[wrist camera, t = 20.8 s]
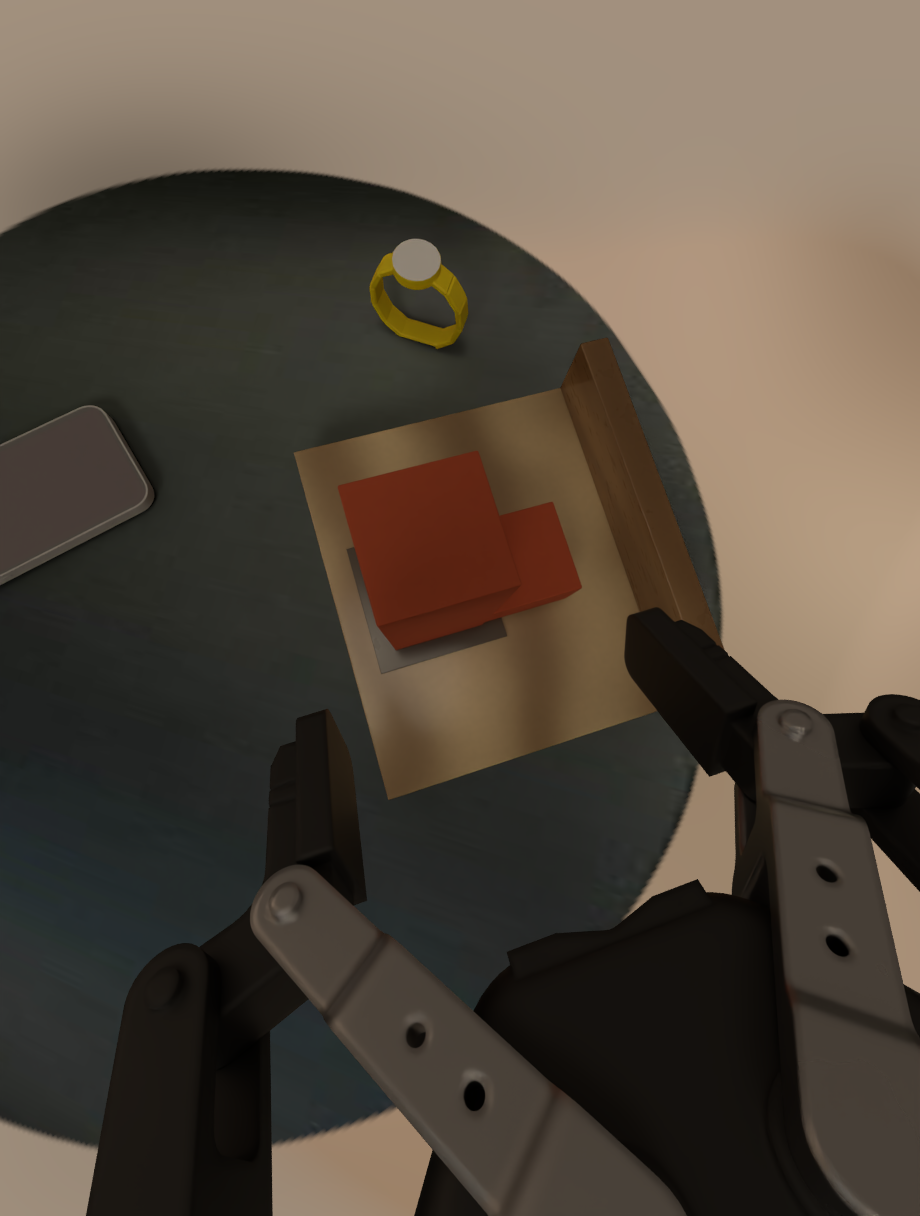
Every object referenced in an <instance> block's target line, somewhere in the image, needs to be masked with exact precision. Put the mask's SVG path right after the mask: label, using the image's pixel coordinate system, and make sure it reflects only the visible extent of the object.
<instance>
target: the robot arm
mask: <svg viewBox="0 0 920 1216" xmlns="http://www.w3.org/2000/svg"><path fill="white" fill-rule="evenodd" d="M624 660H625V665H626V668H627V671H628V673H629V675H630V676H631V678H632V679H633V681H634V682H635V683H636V684H637V686H638V687H639V688H640V689H641V691H642V692H643V693H644V695H645V696H646V697H647V698H648V700H649V701H650V702H651V703H652V705H653V706H654V707H655V708H656V710H657V711H658V712H659V713H660V715H661V716H662V717H663V719H664V720H665V721H666V722H667V724H668V725H669V726H670V727H671V729H672V730H673V731H674V732H675V734H676V735H677V736H678V737H679V739H680V740H681V741H682V743H683V744H684V745H685V746H686V748H687V749H688V750H689V751H690V753H691V754H692V755H693V756H694V758H695V759H696V760H697V761H698V763H699V764H700V765H701V767H702V768H703V769H704V770H705V772H706V773H707V774H708V775H709V776H713V775H716V774H718V773H721V772H724V771H726V772H727V773H728V774H729V775H730V776H731V778H732V779H733V780H734V781H735V786H734V797H735V844H736V845H735V846H736V860H735V870H734V876H733V883H732V895H729V894H724V893H713V892H707V893H706V892H705V890H704V888H703V887H702V885H701V884H700V882H699V880H698V879H697V880H694V881H692V882H689V883H686V884H684V885H681V886H678V887H676V888H673V889H671V890H668V891H665V892H663V893H660V894H658V895H655V896H652V897H651V898H650V899H649V900H648V901H647V902H645V903H644V904H643V905H641V906H640V907H639V908H638V909H637V910H635V911H634V912H633V913H632V914H630V915H629V916H628V917H627V918H626V919H624V920H623V921H622V922H621V923H619V924H618V925H617V926H616V927H614V928H613V929H610V930H602V931H587V932H571V933H555V934H553V935H550V936H547V937H545V938H542V939H540V940H537V941H534V942H532V943H529V944H526V945H524V946H521V947H519V948H516V949H513V950H511V951H508V952H507V955H508V958H509V962H510V966H509V967H507V968H506V969H505V970H504V971H502V972H501V973H500V974H499V975H498V976H497V977H496V978H495V979H494V980H493V981H492V983H491V984H490V985H489V986H488V988H487V989H486V991H485V992H484V993H483V995H482V996H481V998H480V1000H479V1002H478V1004H477V1005H476V1007H475V1009H474V1011H473V1010H471V1009H470V1008H469V1007H468V1006H467V1005H466V1004H465V1003H464V1002H463V1001H462V1000H461V999H459V998H458V997H457V996H456V995H455V994H454V993H453V992H452V991H451V990H450V989H449V988H447V987H446V986H445V985H444V984H443V983H442V982H441V981H440V980H439V979H438V978H437V977H436V976H434V975H433V974H432V973H431V972H430V971H429V970H428V969H427V968H426V967H425V966H424V965H422V964H421V963H420V962H419V961H418V960H417V959H416V958H415V957H414V956H413V955H412V954H410V953H409V952H408V951H407V950H406V949H405V948H404V947H403V946H402V945H401V944H400V943H398V942H397V941H396V940H395V939H394V938H392V937H391V936H390V935H388V934H384V933H383V932H381V931H380V930H379V929H378V928H377V927H376V926H375V925H373V924H372V923H371V922H370V921H369V920H368V919H367V918H366V917H365V916H364V915H363V914H362V913H361V912H359V911H358V910H357V909H356V908H355V907H354V905H356V904H359V903H361V902H364V901H367V896H366V887H365V878H364V868H363V859H362V850H361V840H360V831H359V822H358V813H357V803H356V794H355V785H354V775H353V767H352V762H351V758H350V754H349V751H348V748H347V746H346V744H345V742H344V740H343V738H342V736H341V733H340V731H339V729H338V727H337V725H336V723H335V721H334V719H333V717H332V715H331V713H330V711H329V710H328V709H325V710H322V711H319V712H316V713H312V714H309V715H306V716H303V717H299V718H297V720H296V741H295V742H292V743H289V744H286V745H283V746H280V748H279V750H278V753H277V755H276V757H275V759H274V761H273V763H272V765H271V773H270V789H271V791H270V792H269V806H270V808H269V811H268V830H267V849H266V868H265V877H264V881H263V884H262V886H261V888H260V889H259V891H258V893H257V894H256V896H255V899H254V901H253V903H252V905H251V906H250V907H249V908H248V910H247V911H246V912H245V913H244V914H243V915H242V916H241V917H240V918H239V919H238V920H236V921H235V922H234V923H233V924H231V925H230V926H228V927H227V928H226V929H224V930H223V931H221V932H220V933H219V934H217V935H216V936H214V937H213V938H212V939H210V940H209V941H207V942H206V943H204V944H203V945H202V946H200V947H198V946H196V945H193V944H190V943H182V944H177V945H174V946H171V947H169V948H167V949H165V950H164V951H162V952H161V953H159V954H158V955H157V956H155V957H154V958H153V959H152V960H151V961H150V962H149V963H148V964H147V965H146V966H145V967H144V968H143V970H142V971H141V972H140V973H139V975H138V976H137V978H136V979H135V981H134V983H133V984H132V986H131V988H130V990H129V993H128V995H127V998H126V1001H125V1005H124V1010H123V1015H122V1021H121V1026H120V1032H119V1037H118V1043H117V1048H116V1054H115V1059H114V1065H113V1070H112V1076H111V1081H110V1087H109V1092H108V1098H107V1103H106V1109H105V1114H104V1120H103V1125H102V1131H101V1136H100V1142H99V1147H98V1153H97V1159H96V1164H95V1169H94V1175H93V1180H92V1186H91V1191H90V1197H89V1202H88V1208H87V1213H86V1216H272V1151H271V1150H272V1146H271V1073H270V1030H271V1029H272V1028H274V1027H275V1026H276V1025H277V1024H278V1023H280V1022H281V1021H282V1020H283V1019H285V1018H286V1017H287V1016H288V1015H289V1014H291V1013H292V1012H293V1011H294V1010H296V1009H297V1008H298V1007H299V1006H301V1005H302V1004H303V1003H304V1002H305V1001H307V1000H308V999H309V1000H310V1001H311V1002H312V1003H313V1004H314V1006H315V1007H316V1008H317V1009H318V1010H319V1012H320V1013H321V1014H322V1016H323V1017H324V1020H325V1022H326V1023H327V1024H328V1026H329V1027H330V1028H331V1030H332V1031H333V1032H334V1033H335V1034H336V1036H337V1037H338V1038H339V1039H340V1040H341V1042H342V1043H343V1044H344V1045H345V1046H346V1048H347V1049H348V1050H349V1051H350V1052H351V1053H352V1055H353V1056H354V1057H355V1058H356V1059H357V1061H358V1062H359V1063H360V1064H361V1065H362V1066H363V1068H364V1069H365V1070H366V1071H367V1072H368V1074H369V1075H370V1076H371V1077H372V1078H373V1079H374V1081H375V1082H376V1083H377V1084H378V1085H379V1087H380V1088H381V1089H382V1090H383V1091H384V1092H385V1094H386V1095H387V1096H388V1097H389V1098H390V1100H391V1101H392V1102H393V1103H394V1104H395V1105H396V1107H397V1108H398V1109H399V1110H400V1111H401V1113H402V1114H403V1115H404V1116H405V1117H406V1118H407V1120H408V1121H409V1122H410V1123H411V1124H412V1126H413V1127H414V1128H415V1129H416V1130H417V1132H418V1133H419V1134H420V1135H421V1136H422V1137H423V1139H424V1140H425V1141H426V1142H427V1143H428V1145H429V1146H430V1147H431V1148H432V1149H433V1151H432V1154H431V1158H430V1161H429V1165H428V1168H427V1172H426V1176H425V1179H424V1183H423V1187H422V1190H421V1194H420V1197H419V1201H418V1205H417V1208H416V1212H415V1215H414V1216H920V993H918V992H916V991H914V990H913V989H911V988H909V987H907V986H906V985H904V984H903V980H902V976H901V971H900V967H899V963H898V958H897V954H896V949H895V945H894V940H893V936H892V931H891V927H890V922H889V918H888V914H887V909H886V904H885V900H884V895H883V891H882V886H881V882H880V877H879V873H878V869H877V864H876V859H875V855H874V851H873V846H872V842H871V839H872V840H873V841H874V842H875V843H876V844H877V845H878V846H879V847H880V849H881V850H882V851H883V852H884V853H885V854H886V855H887V856H888V857H889V859H890V860H891V861H892V862H893V863H894V864H895V865H896V866H897V867H898V868H899V869H900V871H901V872H902V873H903V874H904V875H905V876H906V877H907V878H908V879H909V881H910V882H911V883H912V884H913V885H914V886H915V887H916V888H917V889H918V890H919V891H920V793H919V792H917V791H916V790H915V788H916V787H917V788H919V789H920V700H918V699H915V698H912V697H908V696H903V695H894V694H890V695H882V696H878V697H876V698H874V699H873V700H872V701H871V702H870V703H869V705H868V707H867V709H866V711H865V713H841V714H822V713H820V712H819V711H817V710H816V709H814V708H812V707H810V706H808V705H806V704H803V703H800V702H797V701H792V700H778V699H777V698H776V697H775V696H773V695H772V694H771V693H770V692H769V691H768V690H767V689H766V688H765V687H764V686H763V685H761V684H760V683H759V682H758V681H757V680H756V679H755V678H754V677H753V676H752V675H751V674H749V673H748V672H747V671H746V670H745V669H744V668H743V667H742V666H741V665H740V664H739V663H738V662H737V661H735V660H734V659H733V658H732V657H731V656H730V657H729V656H728V653H727V652H726V651H725V650H724V649H722V648H721V647H720V646H719V645H718V646H717V645H716V642H715V641H714V640H713V639H712V638H711V637H709V636H708V635H707V634H706V633H705V632H704V631H703V630H702V629H700V628H698V627H696V626H694V625H692V624H690V623H688V622H686V621H683V620H679V621H676V622H674V621H673V620H672V619H671V618H670V617H669V616H668V615H667V614H666V613H665V612H664V611H663V610H662V609H660V608H658V607H654V608H651V609H647V610H644V611H641V612H638V613H634V614H631V615H629V616H628V617H627V621H626V636H625V650H624Z"/></svg>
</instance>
